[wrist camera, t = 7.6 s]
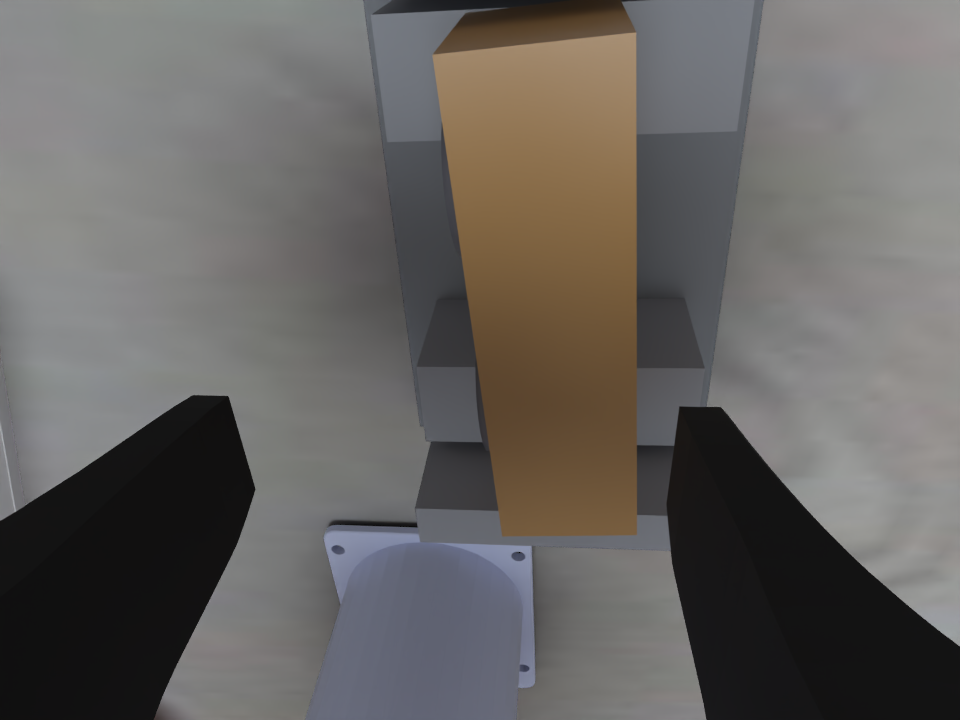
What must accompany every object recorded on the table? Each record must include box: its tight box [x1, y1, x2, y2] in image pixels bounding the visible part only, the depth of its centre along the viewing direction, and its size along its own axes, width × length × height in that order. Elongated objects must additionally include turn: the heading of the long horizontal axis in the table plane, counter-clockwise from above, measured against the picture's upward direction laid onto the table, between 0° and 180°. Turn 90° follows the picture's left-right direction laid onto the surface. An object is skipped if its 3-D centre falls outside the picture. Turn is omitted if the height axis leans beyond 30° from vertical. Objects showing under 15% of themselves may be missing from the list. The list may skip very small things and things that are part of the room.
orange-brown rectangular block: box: [432, 0, 637, 537], centre depth 14 cm, size 10×3×4 cm, turn 7°
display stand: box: [363, 0, 764, 551], centre depth 17 cm, size 15×9×6 cm, turn 3°
